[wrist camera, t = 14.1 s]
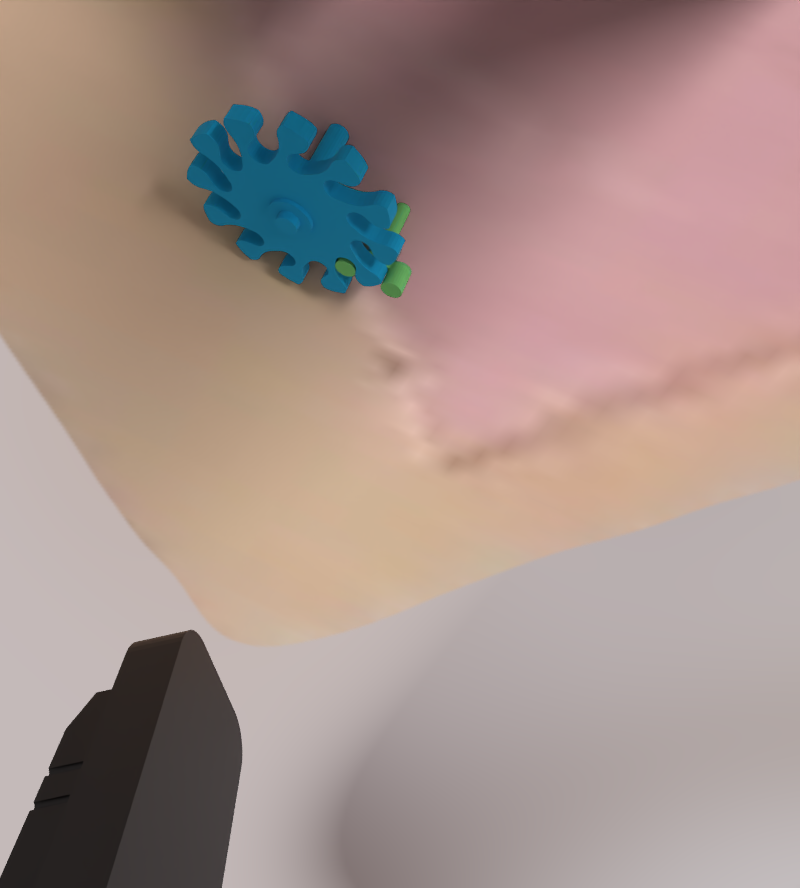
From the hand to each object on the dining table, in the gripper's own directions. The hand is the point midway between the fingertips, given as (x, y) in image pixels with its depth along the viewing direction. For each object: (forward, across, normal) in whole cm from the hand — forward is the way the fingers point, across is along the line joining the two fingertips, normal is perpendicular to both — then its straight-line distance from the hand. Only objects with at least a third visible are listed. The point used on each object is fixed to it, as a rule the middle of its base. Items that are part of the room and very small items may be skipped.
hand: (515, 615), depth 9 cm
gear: (+30, +4, -2) cm, 31 cm away
